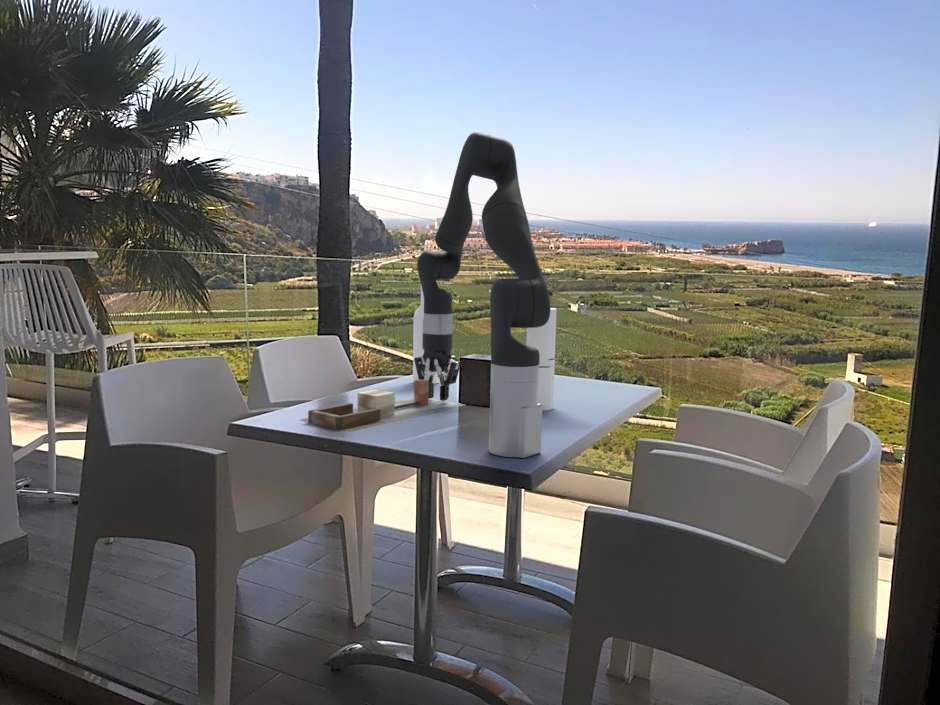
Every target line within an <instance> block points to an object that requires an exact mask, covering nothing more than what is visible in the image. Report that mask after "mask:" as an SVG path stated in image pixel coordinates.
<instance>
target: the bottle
mask: <svg viewBox="0 0 940 705" xmlns="http://www.w3.org/2000/svg"><path fill="white" fill-rule="evenodd" d="M423 317H424V295H423V290H422V286H421V285H420V306H418V307H417V308H416V309H415V312H414V315H413V332H412V336H413V337H412V338H413V342H412V344H413V346H412V348H413V349H412V351H413V352H412V353H413V355H412V356H413V357H412V360H413V361H412V383H413V384H414V380H419V378H418V374H417V369H416V365H415V361H414V359H415V358H416V357H421V356H423V354H424V350H423V348H422V337H423ZM425 365H426V363H425ZM422 375H423V373H422ZM432 383H434V385H437V384H436V383H438V384H440V379H439V377H438V376H437V373H436V374H435V376H434V380H433V382H432Z"/></svg>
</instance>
